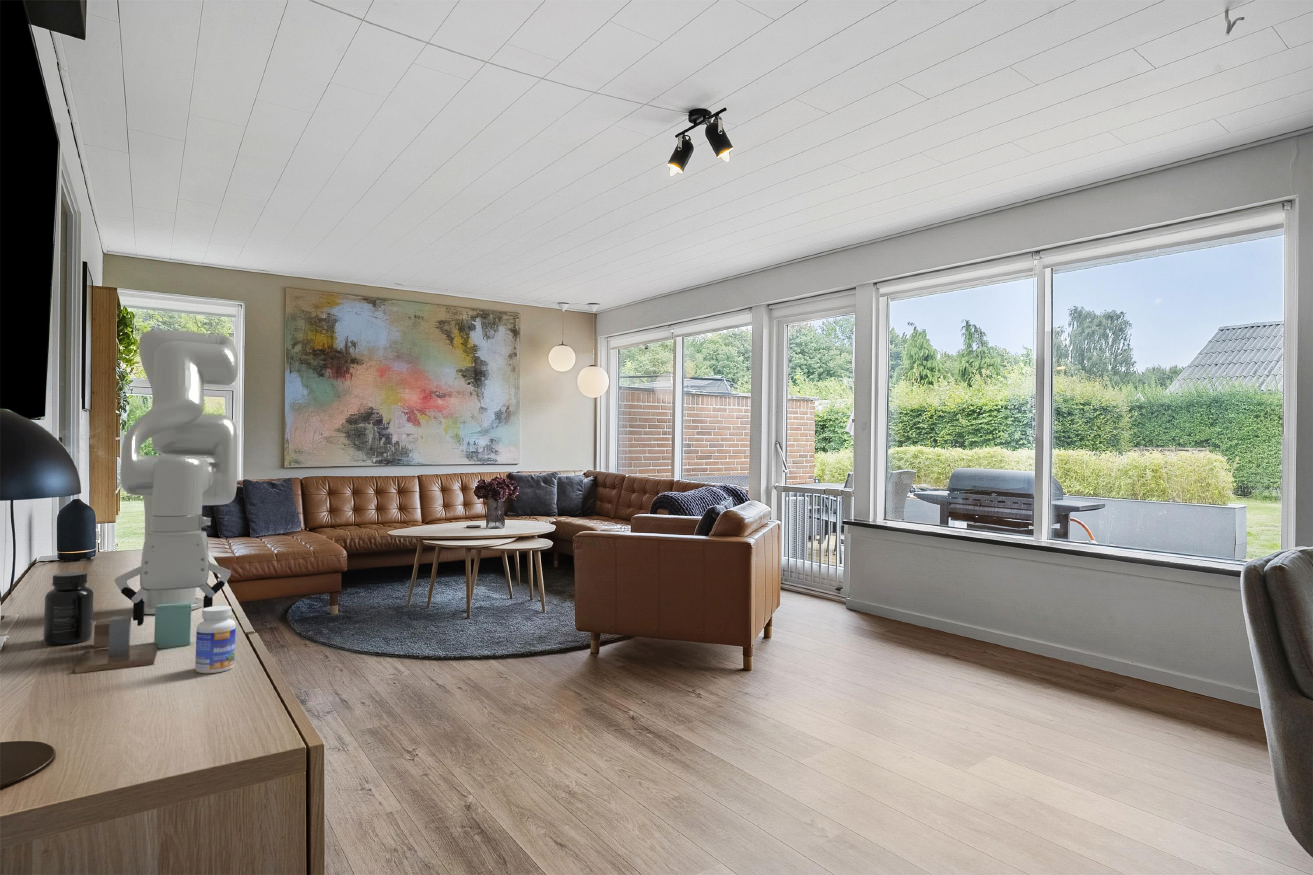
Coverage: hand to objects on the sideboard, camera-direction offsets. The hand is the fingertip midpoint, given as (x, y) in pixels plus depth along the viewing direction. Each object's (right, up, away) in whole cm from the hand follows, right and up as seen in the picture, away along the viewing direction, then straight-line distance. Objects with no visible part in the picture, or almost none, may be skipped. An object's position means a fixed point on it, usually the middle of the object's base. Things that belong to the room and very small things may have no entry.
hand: (173, 621), depth 128 cm
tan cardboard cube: (-11, -4, -1) cm, 12 cm away
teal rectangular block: (0, -4, 0) cm, 4 cm away
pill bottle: (+16, -5, -13) cm, 21 cm away
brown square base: (-2, -4, -10) cm, 11 cm away
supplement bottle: (-19, -4, +1) cm, 20 cm away
